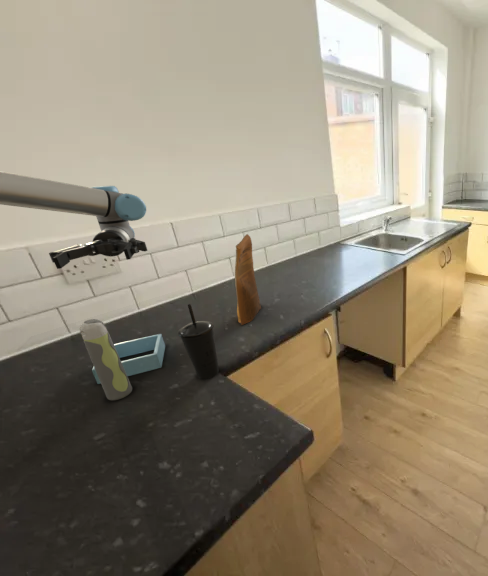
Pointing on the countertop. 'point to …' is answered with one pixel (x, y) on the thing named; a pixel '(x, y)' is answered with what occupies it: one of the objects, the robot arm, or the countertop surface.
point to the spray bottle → (105, 359)
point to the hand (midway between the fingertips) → (93, 258)
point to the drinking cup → (200, 346)
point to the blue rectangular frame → (141, 362)
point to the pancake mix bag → (246, 282)
